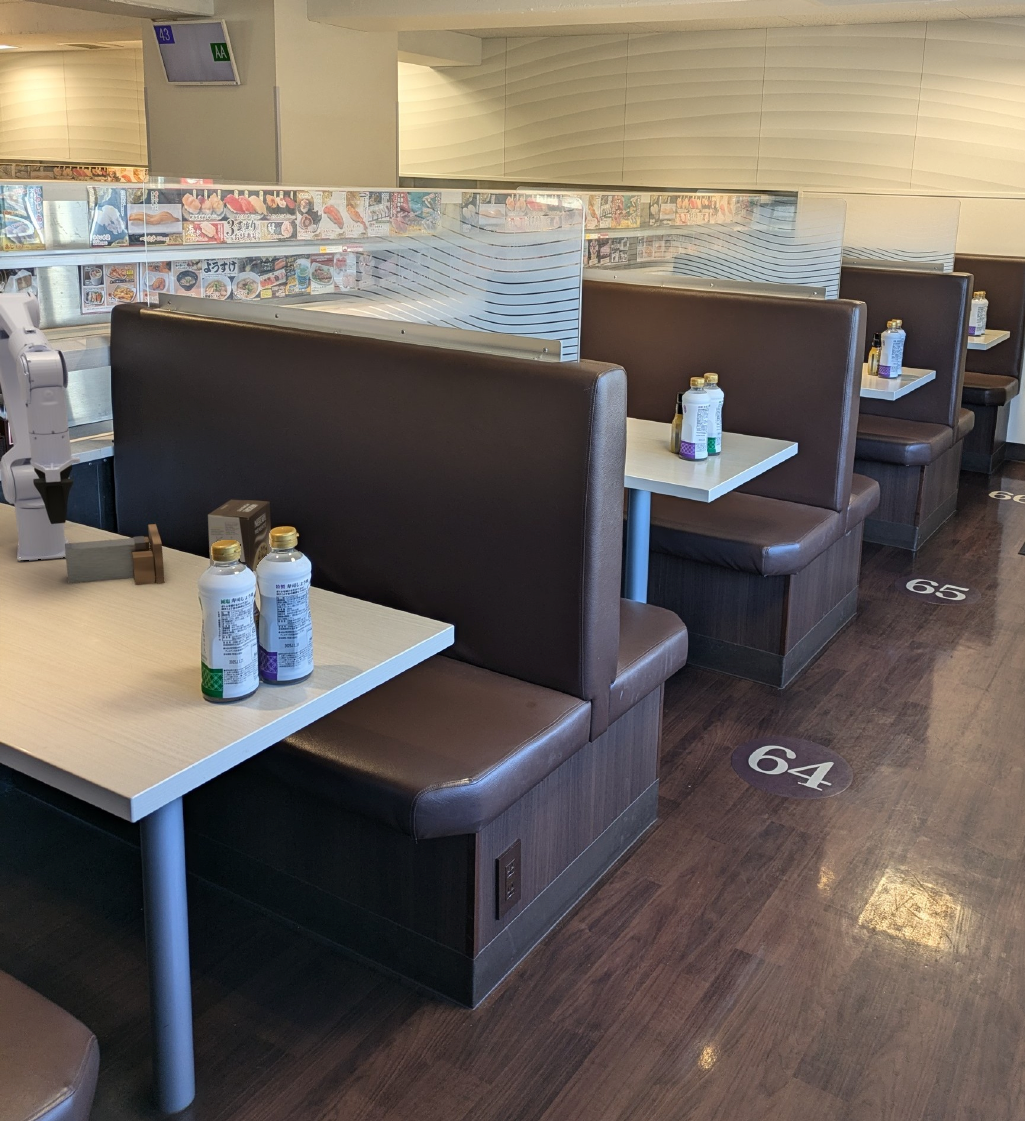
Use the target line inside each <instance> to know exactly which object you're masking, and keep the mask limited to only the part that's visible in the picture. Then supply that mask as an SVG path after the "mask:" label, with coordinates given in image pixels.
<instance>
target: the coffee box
mask: <svg viewBox="0 0 1025 1121" xmlns="http://www.w3.org/2000/svg"><path fill="white" fill-rule="evenodd" d="M270 506H271V503H270V501H267V500H266V501H265V500H264V501H263V500H253V499H252V500H249V499H246V500H245V499H243V500H241V499H230V500H228V501H226V502H225V503H224V504H222V505H220V506H219V507H217V508H216V509H214V510H213V511H212V512H209V513H208V514H207V522H208V523H207V526H208V527H207V528H208V529H207V531H208V547H209V567H210V566H211V565H213V564H214V561H213V560H212V555H211V546H212V544H213V543H215V542H217V541H221V540H236V541H238V542H239V543H240V544H241V555H240V561H241V562H247V563H248V565H249V566H250V568H251V569H252V570H253V571H256V568H257V565H258V564H259V562H260V561H261V560H262V559H263V558H264V557H265V556H267V554H269V553H270V552H271V553H272V546H271V547H270V544H269V533H270V531H271V528H272V527H271V508H270ZM271 532H272V531H271Z"/></svg>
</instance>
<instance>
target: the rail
mask: <svg viewBox="0 0 1025 1121" xmlns="http://www.w3.org/2000/svg"><path fill="white" fill-rule="evenodd" d="M144 537H145V536H144V535H140V536H133V537H131V538H130V537H129V538H120V539H118V538H117V539H108V540H107V539H106V540H95V541H94V540H92V541H81V542H80V541H79V542H71V543H70V542H68V543H66V544H65V554H66V557H65V563H66V572H67V581H68V583H72V584H80V582H83V583H91V582H93V583H94V582H101V581H103V582H104V581H114V580H127V579H134V569H133V557H132V552H142V551H146V544H145V539H144ZM68 583H67V584H68Z"/></svg>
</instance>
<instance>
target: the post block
mask: <svg viewBox="0 0 1025 1121" xmlns="http://www.w3.org/2000/svg"><path fill="white" fill-rule="evenodd" d="M147 528H148V536H144V539H145V544H146V551H142V552H132V557H133V569H134V578H133V579H134V583H135V584H134V585H146V584H164V583H165V581H166V580H165V570H164V569H165V568H164V556H163V555H164V554H163V553H164V552H163V544H162V540H161V536H160V533H159V530H158V527H157V524H156V523H155V524H153V523H152V524H151V523H150V524H148V525H147Z"/></svg>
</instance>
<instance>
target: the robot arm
mask: <svg viewBox="0 0 1025 1121" xmlns="http://www.w3.org/2000/svg"><path fill="white" fill-rule="evenodd" d="M39 304H40V303H39V301H38V298H37V296H36V295H35V294H34V293H33V291H26V292H5V293H4V292H2V293H1V292H0V388H1V392H2V393H1V394H2V397H3V403H4V407H5V411H6V416H7V421H8V426H9V430H10V436H11V439H12V444H13V446H11V448H10V449H9V450H8V451H7V452H6V453H5V454H4V455H2V457H1V459H0V481H1V488H2V491H3V496H4V499H5V501H6V502H8V503H9V504H10V505H12V504H13V505H14V509H15V510H14V511H15V518H16V520H15V521H16V527H17V535H18V537H17V538H18V543H19V545H18V544H17V554H16V560H29V561H38V559H41V560H50V559H51V560H52V559H60V558H61V559H64V558H63V557H65V558H66V554H65V544H66V543H69V539H68V538H66V537H65V536H66V535H65V528H64V527H65V526H64V524H65V523H66V522H67V521H66V520H67V516H68V501H69V497H70V496H69V495H70V492H71V489H72V487H73V484H74V481H75V480H74V478H73V477H72V478H70V474H71V472H72V470H73V464H79V463H81V458H80V456H79V455H78V456H76V455H75V456H74V455H73V456H72V448H71V439H70V429H69V418H68V417H69V416H68V409H67V400H66V389H67V388H68V386H69V368H68V363H67V358H66V357H65V354H64V352H63V350H62V349H53V347H52V346H51V343H50V342H49V340H48V338H47V336H46V334H45V333H44V332H43V331H42V330H41V329H40V325H41V324H40V323H41V313H40V310H41V309H40V305H39ZM64 388H65V389H64ZM19 557H21V558H19Z"/></svg>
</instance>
